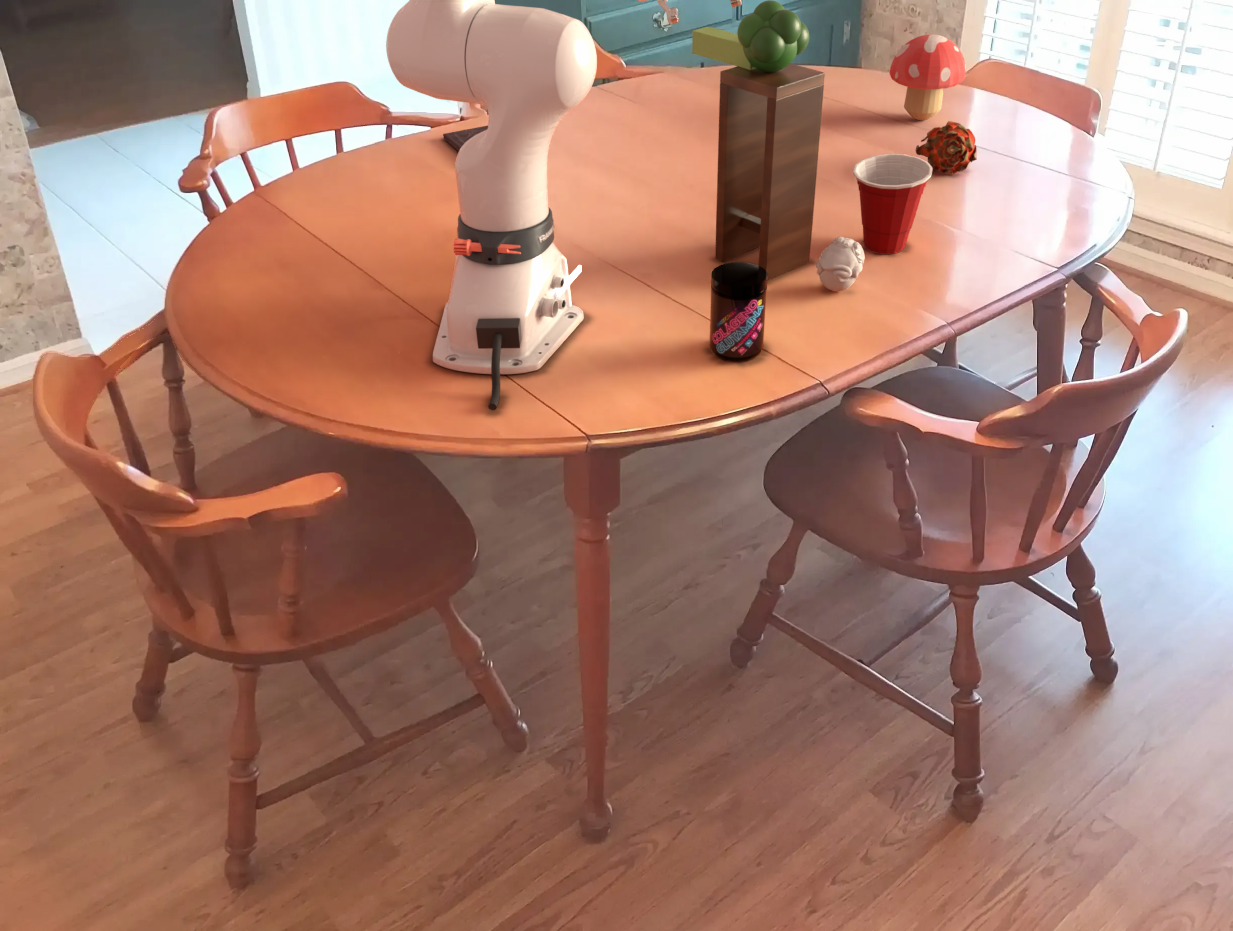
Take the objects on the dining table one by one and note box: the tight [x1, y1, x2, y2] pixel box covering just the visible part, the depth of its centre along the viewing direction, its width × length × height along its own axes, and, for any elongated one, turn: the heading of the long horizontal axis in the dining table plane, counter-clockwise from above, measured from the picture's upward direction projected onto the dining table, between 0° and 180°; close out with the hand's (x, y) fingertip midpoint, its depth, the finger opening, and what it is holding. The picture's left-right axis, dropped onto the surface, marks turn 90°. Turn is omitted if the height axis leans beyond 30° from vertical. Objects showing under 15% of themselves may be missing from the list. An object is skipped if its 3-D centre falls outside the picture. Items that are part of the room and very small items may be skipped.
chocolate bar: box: [443, 125, 488, 153], centre depth 196 cm, size 9×1×18 cm
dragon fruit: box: [915, 120, 978, 176], centre depth 181 cm, size 8×8×12 cm
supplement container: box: [709, 261, 768, 363], centre depth 133 cm, size 7×7×10 cm
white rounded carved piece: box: [815, 236, 866, 292], centre depth 147 cm, size 6×7×7 cm
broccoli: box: [691, 0, 810, 72], centre depth 141 cm, size 17×9×8 cm, turn 40°
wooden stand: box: [714, 62, 826, 282], centre depth 149 cm, size 10×9×26 cm
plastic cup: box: [852, 153, 933, 255], centre depth 156 cm, size 11×11×12 cm
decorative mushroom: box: [888, 34, 967, 121], centre depth 199 cm, size 13×13×15 cm
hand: (704, 14), depth 160 cm, fingers open, 8 cm apart
